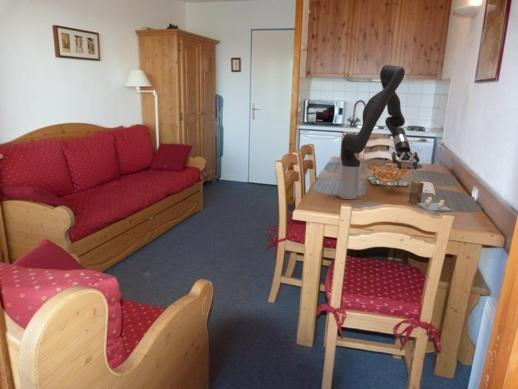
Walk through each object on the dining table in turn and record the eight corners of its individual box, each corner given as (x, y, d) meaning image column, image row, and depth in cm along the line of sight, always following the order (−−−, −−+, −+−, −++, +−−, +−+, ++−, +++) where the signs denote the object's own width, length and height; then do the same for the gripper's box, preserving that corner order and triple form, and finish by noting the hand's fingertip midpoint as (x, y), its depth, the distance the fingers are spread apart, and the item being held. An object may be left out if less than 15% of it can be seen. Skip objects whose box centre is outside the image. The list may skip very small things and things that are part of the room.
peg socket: (428, 211, 193) (429, 203, 192) (416, 204, 205) (417, 197, 204) (452, 211, 194) (453, 204, 193) (438, 204, 206) (439, 197, 205)
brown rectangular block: (414, 204, 205) (417, 183, 203) (408, 200, 211) (411, 180, 208) (420, 204, 206) (423, 183, 203) (414, 201, 212) (417, 180, 209)
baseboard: (434, 185, 253) (414, 183, 257) (435, 180, 253) (415, 178, 256) (438, 196, 225) (415, 194, 229) (439, 191, 224) (416, 189, 228)
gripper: (391, 140, 219) (398, 164, 211) (416, 140, 221) (424, 165, 213) (386, 148, 226) (392, 172, 218) (410, 148, 227) (417, 172, 219)
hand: (408, 168), depth 215 cm, fingers open, 8 cm apart
